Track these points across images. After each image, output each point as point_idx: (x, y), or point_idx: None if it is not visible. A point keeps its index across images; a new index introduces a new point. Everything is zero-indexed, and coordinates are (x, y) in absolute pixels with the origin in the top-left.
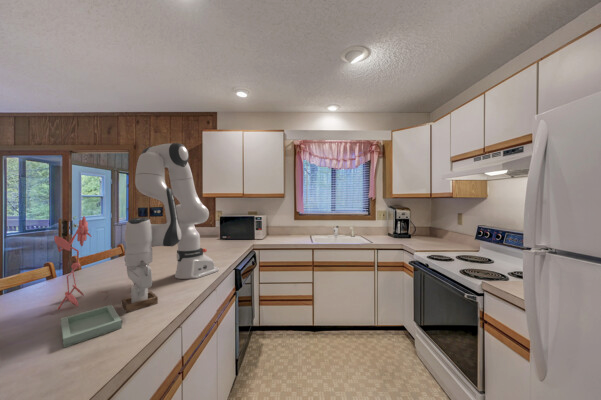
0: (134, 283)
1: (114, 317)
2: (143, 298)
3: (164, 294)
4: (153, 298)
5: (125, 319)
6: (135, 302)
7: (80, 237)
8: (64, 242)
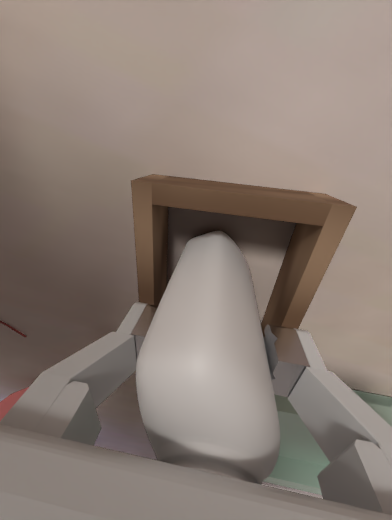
0: (98, 432)
1: None
2: (252, 290)
3: (170, 38)
4: (334, 242)
5: (343, 368)
6: None
7: None
8: None
